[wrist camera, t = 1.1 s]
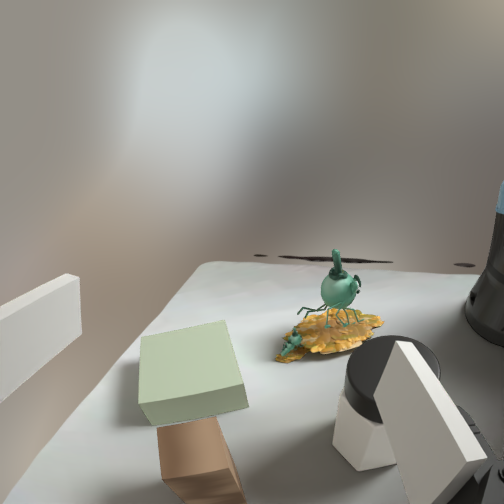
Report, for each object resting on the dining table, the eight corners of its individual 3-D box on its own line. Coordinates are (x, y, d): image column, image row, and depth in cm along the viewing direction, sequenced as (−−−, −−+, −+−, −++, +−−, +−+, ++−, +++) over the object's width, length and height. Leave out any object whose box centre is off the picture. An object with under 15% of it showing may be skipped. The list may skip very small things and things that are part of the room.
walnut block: (235, 465, 27) (215, 416, 23) (247, 504, 23) (229, 467, 18) (189, 474, 26) (156, 427, 22) (197, 513, 22) (161, 479, 17)
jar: (424, 440, 25) (462, 368, 20) (369, 486, 22) (399, 429, 17) (373, 396, 33) (389, 320, 27) (318, 432, 30) (323, 360, 24)
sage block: (230, 345, 45) (224, 319, 43) (249, 408, 34) (243, 383, 32) (151, 362, 43) (141, 337, 41) (153, 427, 32) (138, 403, 30)
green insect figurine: (261, 330, 47) (262, 239, 41) (366, 313, 50) (380, 230, 44) (277, 374, 38) (282, 274, 32) (395, 348, 41) (419, 257, 35)
